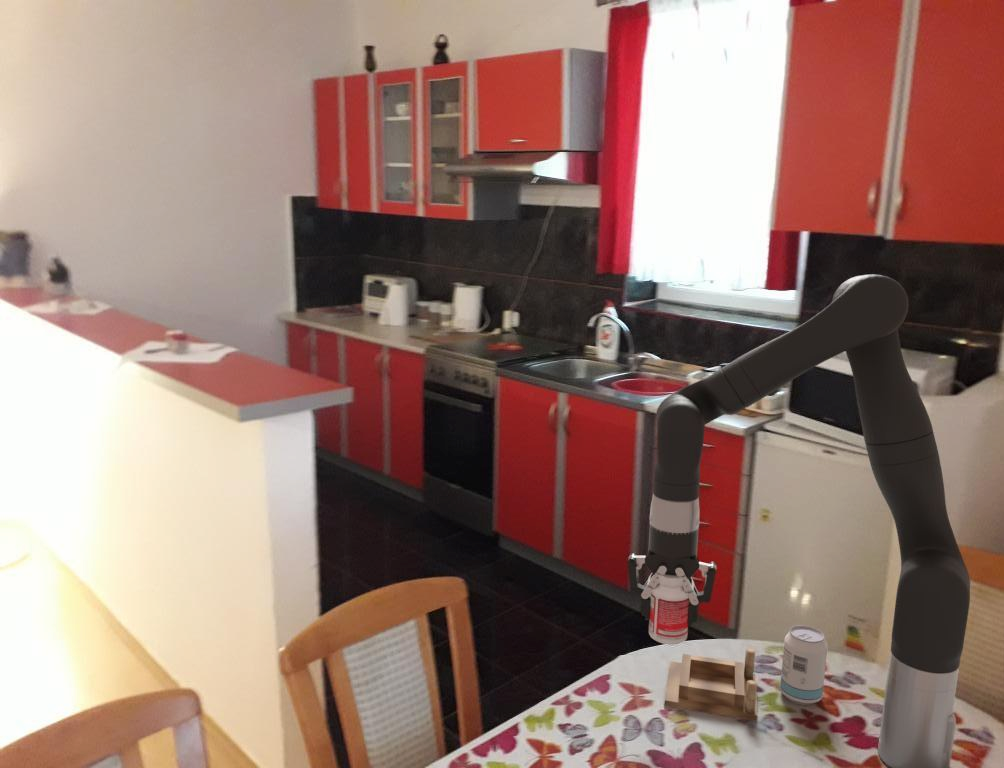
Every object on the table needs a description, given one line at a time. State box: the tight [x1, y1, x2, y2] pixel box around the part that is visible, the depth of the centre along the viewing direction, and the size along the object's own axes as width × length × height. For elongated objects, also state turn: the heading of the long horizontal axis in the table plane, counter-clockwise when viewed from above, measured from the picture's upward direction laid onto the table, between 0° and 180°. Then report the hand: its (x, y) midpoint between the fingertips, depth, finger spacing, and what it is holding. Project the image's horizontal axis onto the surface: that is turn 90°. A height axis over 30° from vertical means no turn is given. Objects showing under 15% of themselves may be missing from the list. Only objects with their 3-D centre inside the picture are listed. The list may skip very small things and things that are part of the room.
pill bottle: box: [648, 574, 690, 646], centre depth 132 cm, size 6×6×11 cm
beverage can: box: [779, 625, 829, 706], centre depth 142 cm, size 7×7×12 cm
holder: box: [663, 648, 758, 722], centre depth 143 cm, size 15×13×6 cm
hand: (668, 620), depth 133 cm, fingers closed on pill bottle, 6 cm apart
